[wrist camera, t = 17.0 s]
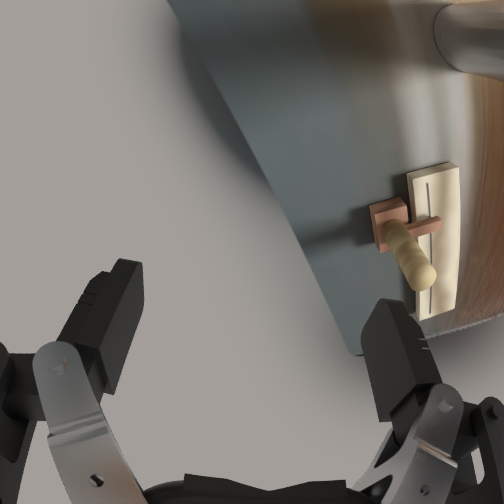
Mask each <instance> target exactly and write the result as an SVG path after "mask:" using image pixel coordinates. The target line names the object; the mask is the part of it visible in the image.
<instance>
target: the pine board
mask: <svg viewBox="0 0 504 504" xmlns="http://www.w3.org/2000/svg"><path fill="white" fill-rule="evenodd" d="M406 175H407V182H408V190H409V198H410V206H411V216H412V223H414V222H418V221H421V220H424V219H428V217H429V216H431V217H434V216H439V218H440V219H441V220H442V229H441V230H438V231H435V232H432V233H429V234H425V235H422V236H419V237H416V238H414V239H415V240H416V242H417V243H418V245H419V246H420V248H421V249H422V251H423V252H424V254H425V255H426V257H427V258H428V260H429V262H430V263H431V265H432V266H433V268H434V269H435V271H436V274H437V276H436V280H435V282H434V283H433V285H432V286H431V287H429V288H428V289H426V290H424V291H419V292H418V291H416V314H417V316H418V319H419V321H421V320H423V319H426V318H429V317H432V316H435V315H438V314H441V313H443V312H446V311H449V310H452V309H454V308H455V299H456V290H457V280H458V267H459V249H460V185H459V167H458V166H456V165H455V164H453V163H452V162H448V163H444V164H440V165H436V166H433V167H429V168H425V169H421V170H417V171H414V172H410V173H406Z"/></svg>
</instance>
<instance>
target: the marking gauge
mask: <svg viewBox="0 0 504 504" xmlns="http://www.w3.org/2000/svg"><path fill="white" fill-rule="evenodd" d="M369 209H370V215H371V220H372V226H373V232H374V238H375V243H376V245H377V247H378V249H379V251H380V253H383V252H386V251H390V250H391V251H392V253H393V255H394V257H395V258H396V260H397V262H398V264H399V266H400V268H401V270H402V272H403V273H404V275H405V277H406V279H407V281H408V283H409V285H410V287H411V289H412V290H414V291H418V292H419V291H424V290H426V289H428V288H429V287H431V286H432V285H433V283H434V282H435V280H436V276H437V274H436V271H435V269H434V268H433V266H432V265H431V263H430V262H429V260H428V258H427V257H426V255H425V254H424V252H423V251H422V249H421V248H420V246H419V245H418V243H417V242H416V240H415V239H414V238H416V237H419V236H422V235H425V234H429V233H432V232H435V231H438V230H441V229H442V220H441V219H440V218H439V216H434V217H431V216H429V217H428V219H424V220H421V221H418V222H414V223H411V224H409V223H408V213H407V205H406V204H405V203H404V202H403V200H402V199H401V198H400V197H397V198H393V199H390V200H386V201H383V202H379V203H375V204H372V205H369Z"/></svg>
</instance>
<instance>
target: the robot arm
mask: <svg viewBox="0 0 504 504" xmlns="http://www.w3.org/2000/svg"><path fill="white" fill-rule="evenodd" d="M434 36H435V41H436V44H437V46H438V49H439V51H440V52H441V54H442V56H443V57H444V58H445V60H446V61H447V62H448V63H449V64H450V65H451V66H453V67H454V68H456V69H457V70H460V71H462V72H466V73H470V74H475V75H479V76H483V77H487V78H491V79H495V80H499V81H503V82H504V0H494V1H480V2H469V3H460V4H453V5H448V6H446V7H444V8H442V9H441V10H440V11H439V13H438V14H437V16H436V18H435V22H434ZM143 306H144V285H143V266H142V263H141V262H138V261H132V260H126V259H121V258H120V259H118V260H117V262H116V263H115V265H114V267H113V269H112V270H111V272H110V273H109V272H104V271H102V272H100V273H99V274H98V275H96V276H95V277H94V278H92V279H91V280H90V281H89V283H88V285H87V287H86V288H85V290H84V293H83V294H82V295H81V297H80V299H79V300H78V304H76V306H75V307H74V309H73V311H72V313H71V314H70V317H69V318H68V320H67V322H66V324H65V325H64V327H63V329H62V331H61V333H60V335H59V337H58V338H57V340H56V341H54V342H50V343H47V344H45V345H43V346H42V347H41V348H40V349H39V350H38V351H37V352H36V353H34V354H15V353H8V351H7V349H6V348H5V346H4V345H3V344H2V343H1V342H0V504H17V499H18V493H19V489H20V483H21V479H22V475H23V471H24V467H25V463H26V459H27V455H28V451H29V448H30V444H31V441H32V437H33V433H34V430H35V427H36V423H37V421H47V424H48V427H49V432H50V434H49V435H48V437H47V439H48V444H49V448H50V451H51V454H52V456H53V459H54V462H55V464H56V467H57V470H58V472H59V475H60V477H61V480H62V482H63V485H64V487H65V489H66V492H67V494H68V496H69V498H70V500H71V503H72V504H504V405H503V404H502V403H501V401H499V400H498V399H497V398H494V397H487V398H485V399H484V400H483V401H482V402H481V403H480V404H479V405H476V404H472V403H468V402H464V401H463V400H462V398H461V396H460V394H459V393H458V391H457V390H456V389H455V388H453V387H451V386H450V385H447V384H443V382H442V379H441V377H440V374H439V371H438V369H437V366H436V364H435V361H434V359H433V356H432V354H431V351H430V350H429V346H428V344H427V341H425V337H424V334H423V332H422V330H421V327H420V326H419V325H418V324H417V322H416V321H415V320H414V319H413V318H412V316H409V315H408V313H407V310H406V308H405V306H404V304H403V302H402V301H400V300H392V299H384V298H382V299H380V300H379V301H378V302H377V304H376V306H375V308H374V310H373V312H372V313H371V315H370V317H369V319H368V321H367V322H366V324H365V326H364V328H363V330H362V334H361V346H362V350H363V354H364V358H365V362H366V365H367V369H368V374H369V378H370V382H371V387H372V391H373V395H374V400H375V404H376V408H377V413H378V418H379V422H390V421H392V425H393V427H392V428H391V429H390V430H389V431H388V433H387V435H386V437H385V439H384V441H383V443H382V444H381V446H380V448H379V450H378V452H377V454H376V456H375V457H374V459H373V461H372V463H371V465H370V466H369V468H368V469H367V471H366V472H365V474H364V475H363V476H362V477H361V478H360V479H359V480H358V481H357V482H356V483H355V485H354V486H353V487H352V488H351V489H349V488H346V481H345V480H334V481H313V482H306V483H303V484H298V485H294V486H290V487H286V488H282V489H277V490H272V491H267V490H262V489H258V488H255V487H251V486H248V485H244V484H241V483H238V482H235V481H232V480H228V479H224V478H214V477H205V476H198V475H192V474H185V475H184V480H182V481H172V482H166V483H163V484H159V485H156V486H153V487H151V488H148V489H146V490H145V491H143V489H142V488H141V486H140V484H139V483H138V481H137V479H136V477H135V475H134V474H133V472H132V470H131V468H130V466H129V465H128V463H127V461H126V459H125V457H124V455H123V454H122V452H121V450H120V448H119V446H118V444H117V441H116V440H115V437H114V435H113V433H112V431H111V429H110V427H109V425H108V422H107V420H106V418H105V416H104V413H103V411H102V409H101V407H100V402H101V399H102V396H103V393H107V394H111V395H114V393H115V390H116V387H117V384H118V381H119V378H120V375H121V372H122V369H123V366H124V363H125V360H126V357H127V354H128V351H129V348H130V346H131V342H132V340H133V337H134V334H135V331H136V329H137V326H138V323H139V320H140V318H141V315H142V311H143ZM478 447H479V449H480V453H481V457H482V462H483V466H484V471H485V475H484V478H483V480H482V482H481V483H480V484H477V480H476V475H475V470H474V465H473V461H472V456H471V452H473V451H474V450H475V449H477V448H478Z"/></svg>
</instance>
